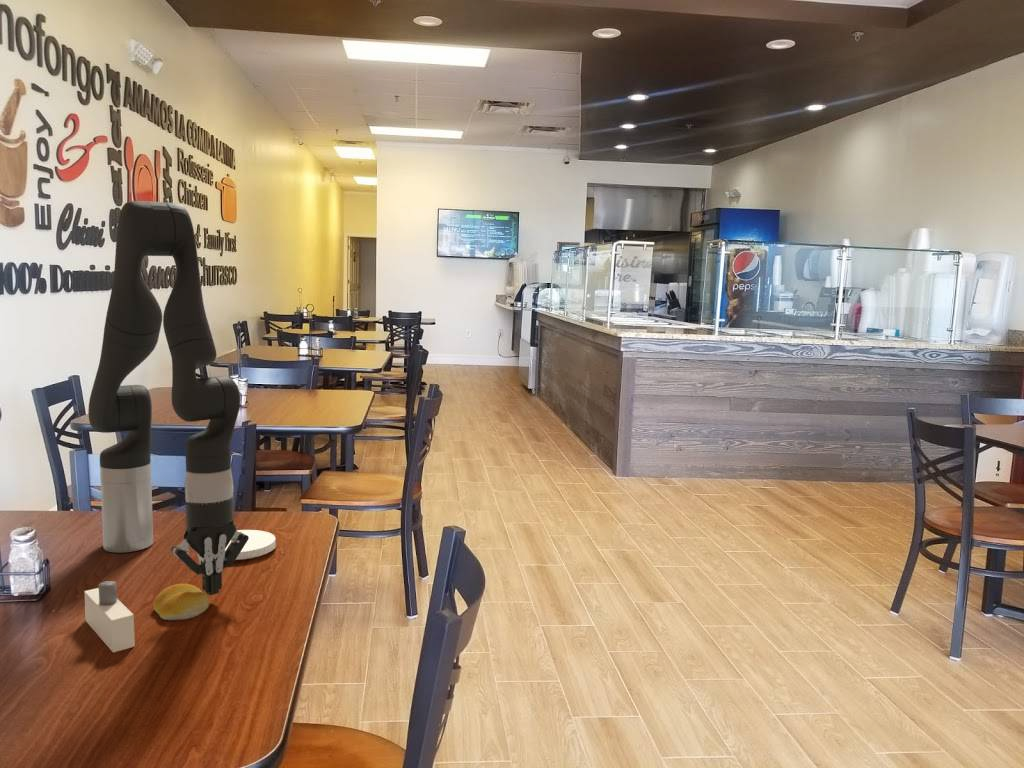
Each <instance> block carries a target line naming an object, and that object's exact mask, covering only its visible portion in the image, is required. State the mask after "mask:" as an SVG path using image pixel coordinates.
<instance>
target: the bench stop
mask: <svg viewBox="0 0 1024 768" xmlns="http://www.w3.org/2000/svg"><path fill="white" fill-rule="evenodd" d="M83 592H84V594H83V595H84V613H85V615H84V617H85V618H84V619H85V622H86V623H87V624H88V625H89V627H90V628H91V629H92V630H93V631H94V632H95V634H96V635H97V636H98V637H99V638H100V640H102V641H103V642H104V644H105V645H106V646H107V647H108V649H109V650H110V651H111V652H112V653H117V652H120V651H124V650H127V649H130V648H134V647H136V644H135V643H136V641H135V638H136V637H135V617H134V616H135V615H134V613H133V612H132V611H131V610H129V608H128V607H126V606H125V605H124V604H123V603H122V602H121V601H120V599H118V597H117V596H118V595H117V593H118V592H117V581H114V580H106V581H102V582H101V583H99V584H98V587H97V588H93V589H87V590H84V591H83Z"/></svg>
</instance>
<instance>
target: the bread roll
mask: <svg viewBox="0 0 1024 768" xmlns="http://www.w3.org/2000/svg"><path fill="white" fill-rule="evenodd" d="M209 604H210V597H209V596H208V594H207V593H206V592H205V593H204V591H203V590H201V589H200V588H199V587H198V586H195V585H194V584H190V583H175V584H172V585H169V586H168V587H166V588H164V589H162V591H161V592H159V593H158V594H157V596H155V597H154V600H153V604H152V605H153V609H154V611H155V612H156V613H157V614H158V616H159V617H160V618H161V619H163V620H166V621H167V620H168V621H182V620H183V621H184V620H188V619H192V618H195V617H197V616H200V615H201V614H202V613H204V612H205V611H206V610H207V609H208V608H209Z"/></svg>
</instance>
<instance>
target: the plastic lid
mask: <svg viewBox="0 0 1024 768" xmlns="http://www.w3.org/2000/svg"><path fill="white" fill-rule="evenodd" d="M236 531H238V532H242V533H243V534H245V535H247V536H248V537H249V539H248V541H247V542H246V544H245V546H244V547H243V549H242V550H241V552H240V553H239V555H238V557H237V558H236V560H235V561H237V560H239V561H240V560H247V559H253V558H256V557H257V558H258V557H262V556H264V555H267V554H269V553H270V552H272V551H274V549H275V548H276V545H277V543H276V541H277V540H276V539H277V538H276V535H275V534H273V533H271V532H268V531H264V530H259V529H258V530H257V529H239V530H238V529H236ZM230 543H231V541H230V542H229V544H228V546H229V545H230ZM228 546H227V547H226V549H227V548H228ZM226 549H225V551H226Z"/></svg>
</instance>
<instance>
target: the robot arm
mask: <svg viewBox="0 0 1024 768" xmlns="http://www.w3.org/2000/svg"><path fill="white" fill-rule="evenodd" d="M115 241H116V242H115V256H114V258H115V259H114V271H113V278H112V279H113V280H112V284H111V292H110V295H109V301H108V306H107V311H106V314H105V315H106V317H105V320H104V321H105V322H104V327H103V329H104V330H103V335H102V336H103V337H102V344H101V351H100V358H99V364H98V368H97V370H96V374H95V377H94V381H93V385H92V389H91V393H90V395H89V396H90V397H89V401H88V409H87V410H88V420H89V424H90V426H91V428H92V429H93V430H94V431H95V432H97V433H101V434H102V433H104V434H105V433H108V434H111V433H120V432H128V433H127V436H125V437H124V438H123V439H122V440H120V441H119V442H117V443H116V444H113V445H111V446H109V447H107V448H105V449H103V450H102V451H100V453H99V454H100V455H99V471H100V473H99V475H100V493H101V494H100V496H101V499H100V500H101V520H102V522H101V523H102V524H101V525H102V546H103V550H104V551H106V552H110V553H130V552H136V551H141V550H144V549H146V548H149V547H150V546H152V545H153V543H154V530H153V529H154V527H153V525H154V521H153V495H152V494H153V493H152V492H153V491H152V465H151V462H152V460H151V456H152V455H151V454H152V421H153V420H152V418H153V417H152V415H153V414H152V413H153V411H152V410H153V405H152V399H151V398H152V397H151V394H150V391H149V389H148V388H147V387H146V386H145V385H142V384H129V385H128V384H126V385H122V383H123V381H124V380H125V379H126V378H127V376H128V375H130V373H132V372H133V371H134V370H135V369H136V368H137V367H139V366H140V365H141V364H142V363H143V362H144V361H145V360H146V359H147V358H148V357H149V356H151V354H152V353H153V351H154V350H155V349H156V346H157V344H158V342H159V337H160V333H161V327H162V326H163V327H162V328H163V332H164V335H165V338H166V339H165V340H166V343H167V346H168V349H169V354H170V356H171V362H172V363H171V369H172V376H171V377H172V378H171V380H172V383H171V385H172V386H171V406H172V409H173V411H174V413H175V414H176V415H177V417H179V419H181V420H182V421H185V422H189V423H191V422H200V421H201V422H202V421H207V420H209V421H208V424H207V426H206V428H205V429H203V430H201V431H199V432H197V433H195V434H194V433H193V434H192V435H190V436H189V437H188V438H187V439H186V441H185V445H184V446H185V448H184V449H185V450H184V451H185V480H184V496H185V498H184V499H185V500H184V501H185V524H186V525H185V526H186V529H185V533H184V534H183V540H182V541H181V542H180V543H179V544H178V545H174V546H172V547H171V549H170V552H171V553H172V554H173V555H174V556H175V558H176V557H177V558H178V560H179V561H180V562H181V563H182V564H184V565H185V566H186V567H187V569H189V570H190V571H192V572H194V573H195V574H196V575H201V583H202V586H201V587H202V591H203V592H205V594H206V595H207V596H208V595H209V596H213V595H217V594H219V593H220V590H222V587H223V575H222V574H223V571H224V569H226V568H230V567H232V566H233V564H234V563H235V561H237V560H236V558H237V557H238V555H239V553H240V552H241V550H242V549H243V547H244V546H245V544H246V542H247V541H248V539H249V537H248V536H247V535H245V534H243V533H242V532H238V531H237V526H236V525H235V523H234V518H235V517H234V516H235V515H234V514H235V513H234V509H235V508H234V489H235V487H234V482H233V481H234V479H233V473H232V463H231V462H232V461H231V460H232V459H231V458H232V457H231V453H232V452H231V451H232V450H231V444H232V440H233V436H234V430H235V428H236V427H235V426H236V423H237V419H238V416H239V413H240V412H239V411H240V407H241V393H240V392H241V391H240V389H239V387H238V385H237V384H236V382H235V380H233V379H232V378H231V377H228V376H224V375H223V376H222V375H221V376H211V377H210V376H209V377H208V376H207V377H199V378H198V377H197V375H196V370H198V369H201V368H202V369H203V368H205V367H207V366H209V365H211V364H212V363H214V361H216V358H217V349H216V346H215V341H214V339H213V335H212V331H211V328H210V325H209V321H208V318H207V314H206V309H205V305H204V299H203V291H202V283H201V273H200V264H199V257H198V256H199V255H198V250H197V243H196V236H195V230H194V225H193V221H192V218H191V216H190V214H189V211H188V210H187V209H186V207H185V206H184V205H182V204H180V203H177V202H168V201H167V202H166V201H163V202H162V201H148V200H132V201H131V200H130V201H127V202H125V203H124V204H123V206H122V208H121V209H120V212H119V215H118V220H117V229H116V240H115ZM145 257H172V258H173V260H174V264H175V269H176V271H175V274H176V275H175V279H174V283H173V286H172V289H171V291H170V295H169V297H168V298H167V301H166V304H165V307H164V311H162V308H161V306H160V304H159V301H158V300H157V298H156V297H155V295H154V294H153V292H152V290H151V289H150V287H149V286H148V284H147V283H146V280H145V279H144V277H143V274H142V262H143V259H144V258H145ZM162 324H163V325H162ZM230 541H231V543H230V545H229V546H228V544H229V542H230ZM227 546H228V548H227V549H226V547H227ZM189 547H191V548H192V550H193V551H194V552H195V553H197V558H198V562H199V564H198V563H197V562H196V561H195V560H194V559H193V558H192V557H191V556H190V551H191V550H190V548H189ZM225 549H226V551H225Z"/></svg>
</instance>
